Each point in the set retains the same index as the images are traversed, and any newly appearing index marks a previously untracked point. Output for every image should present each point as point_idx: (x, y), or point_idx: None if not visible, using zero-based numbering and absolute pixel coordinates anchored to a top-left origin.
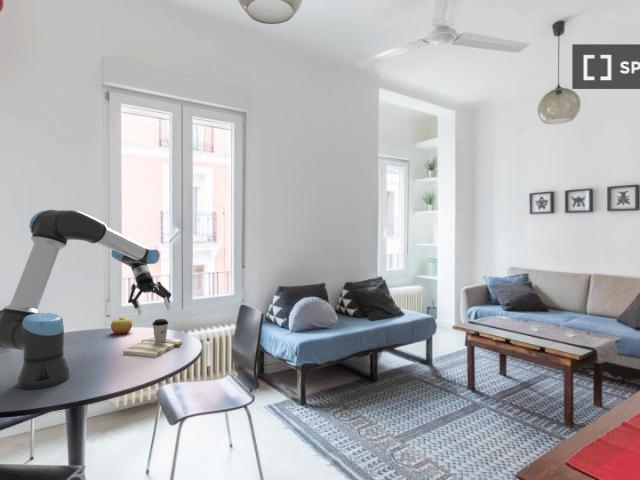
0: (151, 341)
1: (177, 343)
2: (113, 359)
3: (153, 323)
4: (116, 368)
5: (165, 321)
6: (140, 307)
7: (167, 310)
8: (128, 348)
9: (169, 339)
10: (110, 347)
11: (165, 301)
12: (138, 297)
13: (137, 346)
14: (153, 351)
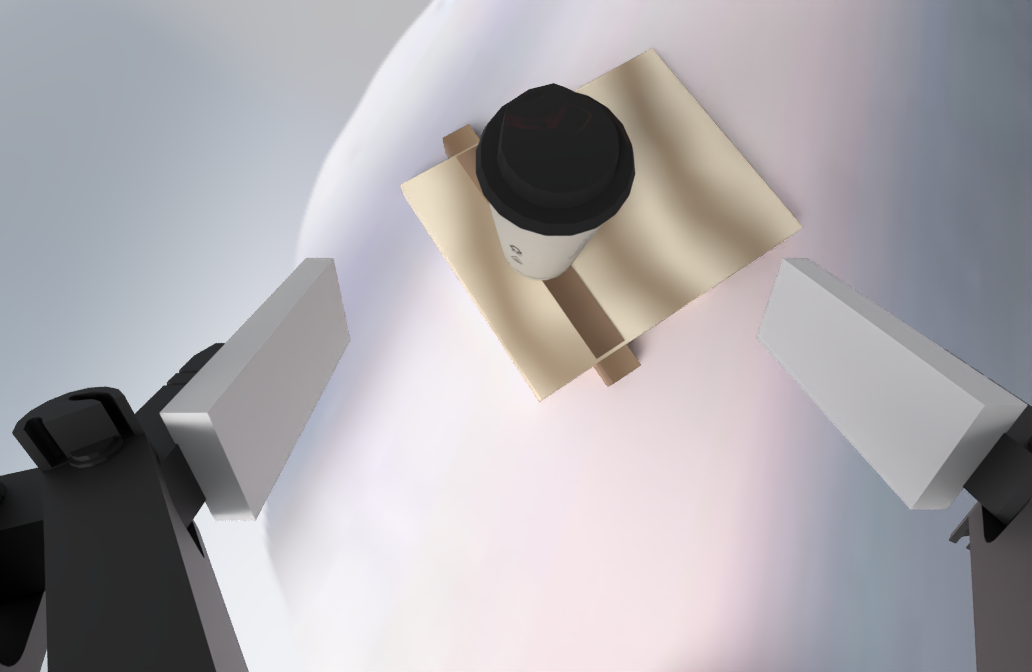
0: (589, 291)
1: (465, 135)
2: (851, 180)
3: (632, 155)
4: (856, 45)
5: (523, 96)
6: (837, 292)
7: (348, 334)
8: (764, 245)
9: (464, 255)
10: (837, 436)
11: (275, 398)
12: (1008, 632)
13: (703, 248)
14: (650, 90)
